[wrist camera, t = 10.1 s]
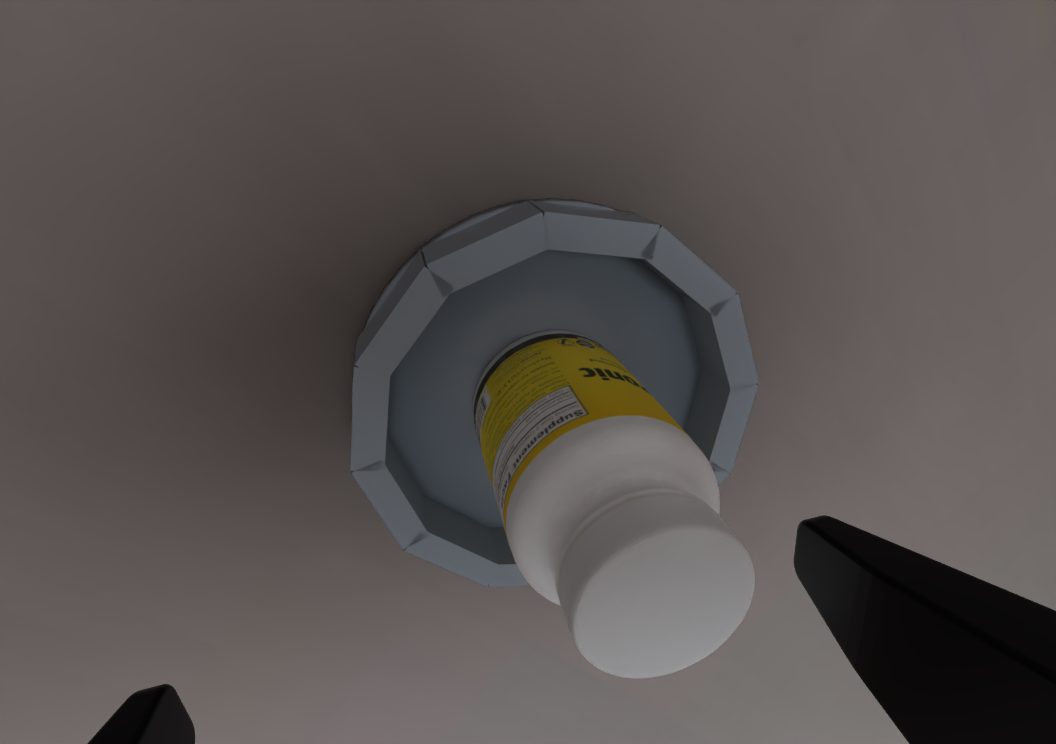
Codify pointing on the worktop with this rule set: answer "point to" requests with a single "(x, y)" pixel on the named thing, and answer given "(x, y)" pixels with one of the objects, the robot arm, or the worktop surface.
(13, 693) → the worktop surface
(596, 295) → the round dish
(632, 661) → the supplement bottle
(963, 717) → the robot arm
